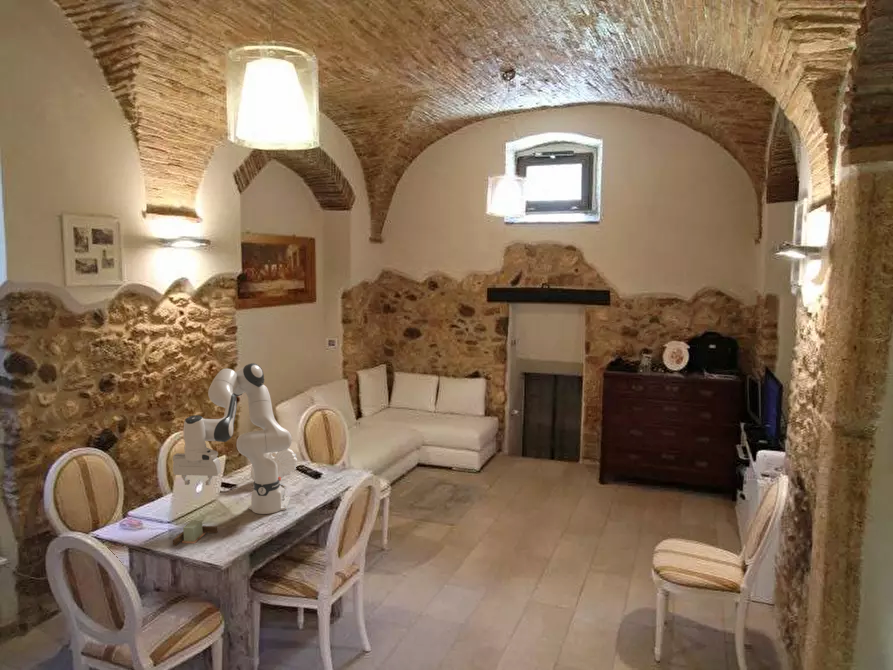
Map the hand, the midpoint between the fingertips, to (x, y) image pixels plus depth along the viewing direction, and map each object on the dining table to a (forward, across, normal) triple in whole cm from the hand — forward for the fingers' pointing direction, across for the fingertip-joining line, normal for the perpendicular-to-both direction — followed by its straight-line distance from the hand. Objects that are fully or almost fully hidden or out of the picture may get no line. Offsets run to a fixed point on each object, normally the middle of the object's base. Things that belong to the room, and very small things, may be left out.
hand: (197, 484), depth 280 cm
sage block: (+24, -3, -2) cm, 24 cm away
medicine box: (+26, +8, +93) cm, 97 cm away
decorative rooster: (+26, +8, +68) cm, 73 cm away
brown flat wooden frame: (+24, -1, -2) cm, 24 cm away
